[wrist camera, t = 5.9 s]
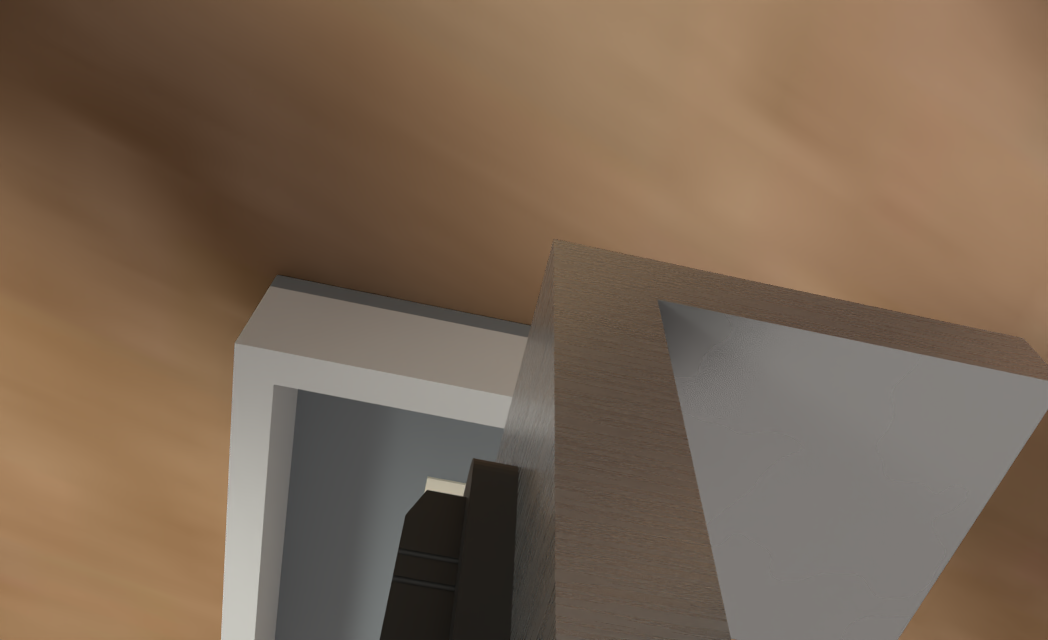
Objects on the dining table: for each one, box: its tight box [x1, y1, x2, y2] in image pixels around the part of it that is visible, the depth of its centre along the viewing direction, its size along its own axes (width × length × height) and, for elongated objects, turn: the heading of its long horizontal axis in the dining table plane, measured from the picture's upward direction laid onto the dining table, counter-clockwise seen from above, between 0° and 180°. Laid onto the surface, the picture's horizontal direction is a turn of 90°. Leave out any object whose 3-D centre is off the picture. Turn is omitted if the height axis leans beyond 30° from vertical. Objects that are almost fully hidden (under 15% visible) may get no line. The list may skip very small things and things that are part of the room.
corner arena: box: [221, 275, 531, 640], centre depth 33 cm, size 18×20×4 cm
